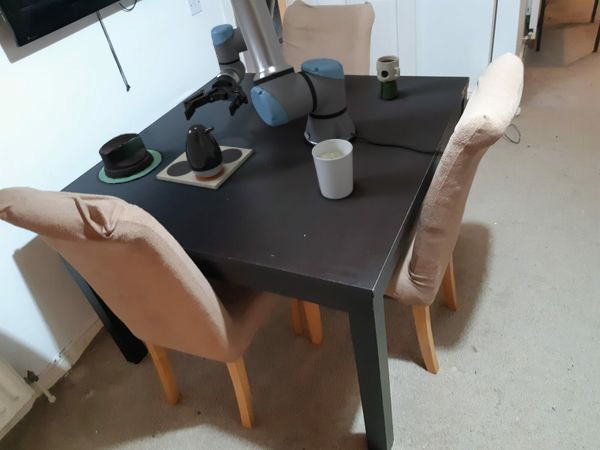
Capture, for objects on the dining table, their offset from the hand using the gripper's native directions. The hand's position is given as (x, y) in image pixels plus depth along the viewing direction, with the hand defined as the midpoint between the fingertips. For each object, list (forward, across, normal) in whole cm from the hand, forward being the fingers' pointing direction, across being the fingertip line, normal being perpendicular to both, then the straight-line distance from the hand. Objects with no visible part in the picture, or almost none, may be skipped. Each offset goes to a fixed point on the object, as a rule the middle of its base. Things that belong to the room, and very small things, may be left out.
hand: (208, 114), depth 127 cm
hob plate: (+5, +4, -14) cm, 15 cm away
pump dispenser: (+11, 0, -13) cm, 17 cm away
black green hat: (+2, +30, -14) cm, 33 cm away
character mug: (-32, -52, -14) cm, 63 cm away
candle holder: (+22, -37, -15) cm, 45 cm away
